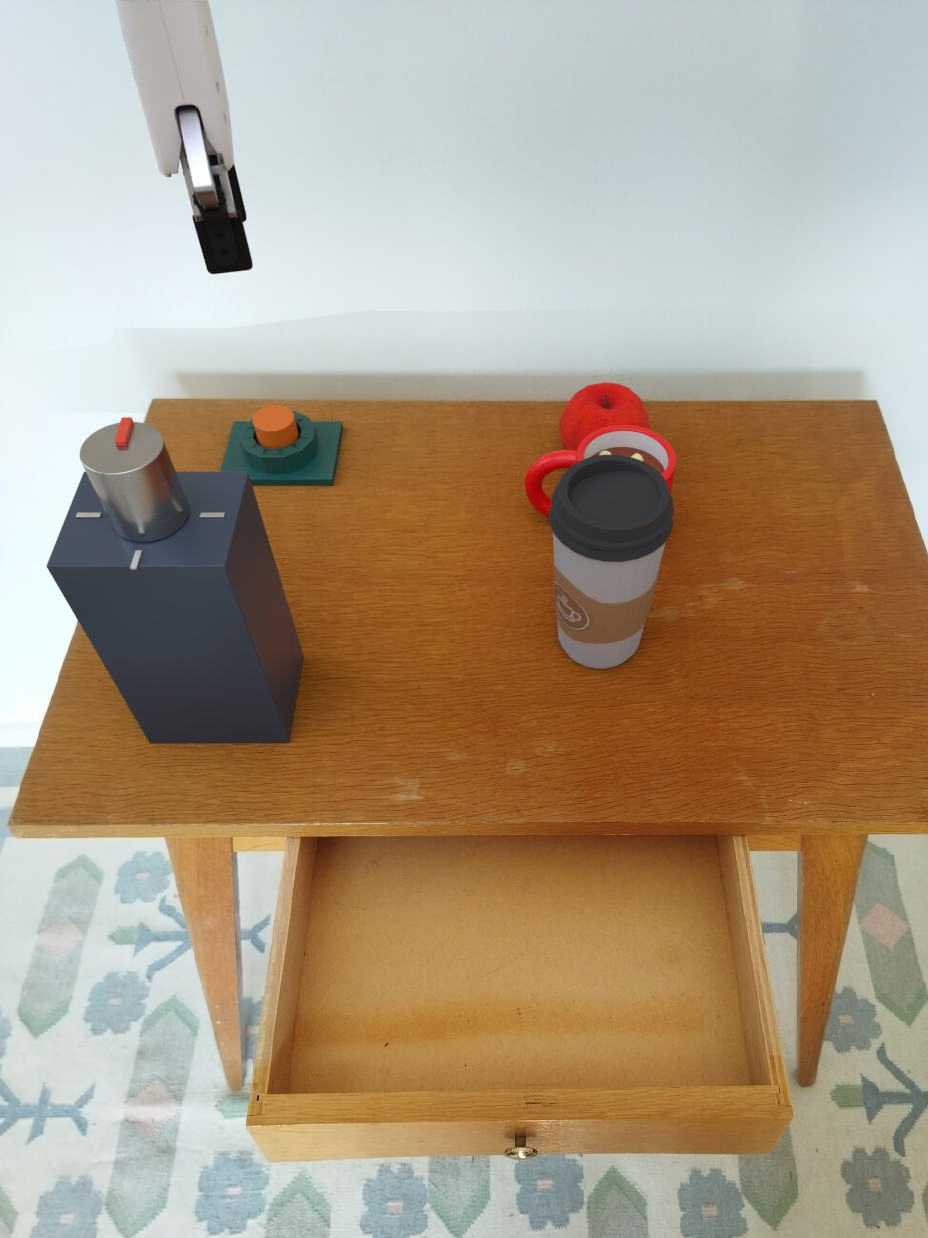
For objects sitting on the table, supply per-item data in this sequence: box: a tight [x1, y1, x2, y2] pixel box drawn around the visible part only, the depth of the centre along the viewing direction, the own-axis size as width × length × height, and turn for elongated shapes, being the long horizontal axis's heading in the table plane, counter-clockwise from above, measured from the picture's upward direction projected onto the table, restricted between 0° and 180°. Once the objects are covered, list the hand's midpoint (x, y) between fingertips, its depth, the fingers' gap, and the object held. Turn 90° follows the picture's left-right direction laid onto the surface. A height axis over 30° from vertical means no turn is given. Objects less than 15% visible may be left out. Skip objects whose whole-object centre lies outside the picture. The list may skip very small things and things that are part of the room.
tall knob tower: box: [46, 471, 305, 744], centre depth 63 cm, size 10×9×18 cm
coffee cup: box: [548, 455, 675, 670], centre depth 68 cm, size 8×8×15 cm
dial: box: [79, 416, 189, 542], centre depth 53 cm, size 4×4×5 cm
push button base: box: [219, 410, 344, 486], centre depth 85 cm, size 10×8×2 cm
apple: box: [558, 381, 651, 451], centre depth 83 cm, size 8×8×7 cm
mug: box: [524, 425, 677, 518], centre depth 78 cm, size 8×12×8 cm, turn 85°
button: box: [252, 404, 299, 448], centre depth 83 cm, size 4×4×2 cm
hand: (227, 243), depth 70 cm, fingers open, 6 cm apart
